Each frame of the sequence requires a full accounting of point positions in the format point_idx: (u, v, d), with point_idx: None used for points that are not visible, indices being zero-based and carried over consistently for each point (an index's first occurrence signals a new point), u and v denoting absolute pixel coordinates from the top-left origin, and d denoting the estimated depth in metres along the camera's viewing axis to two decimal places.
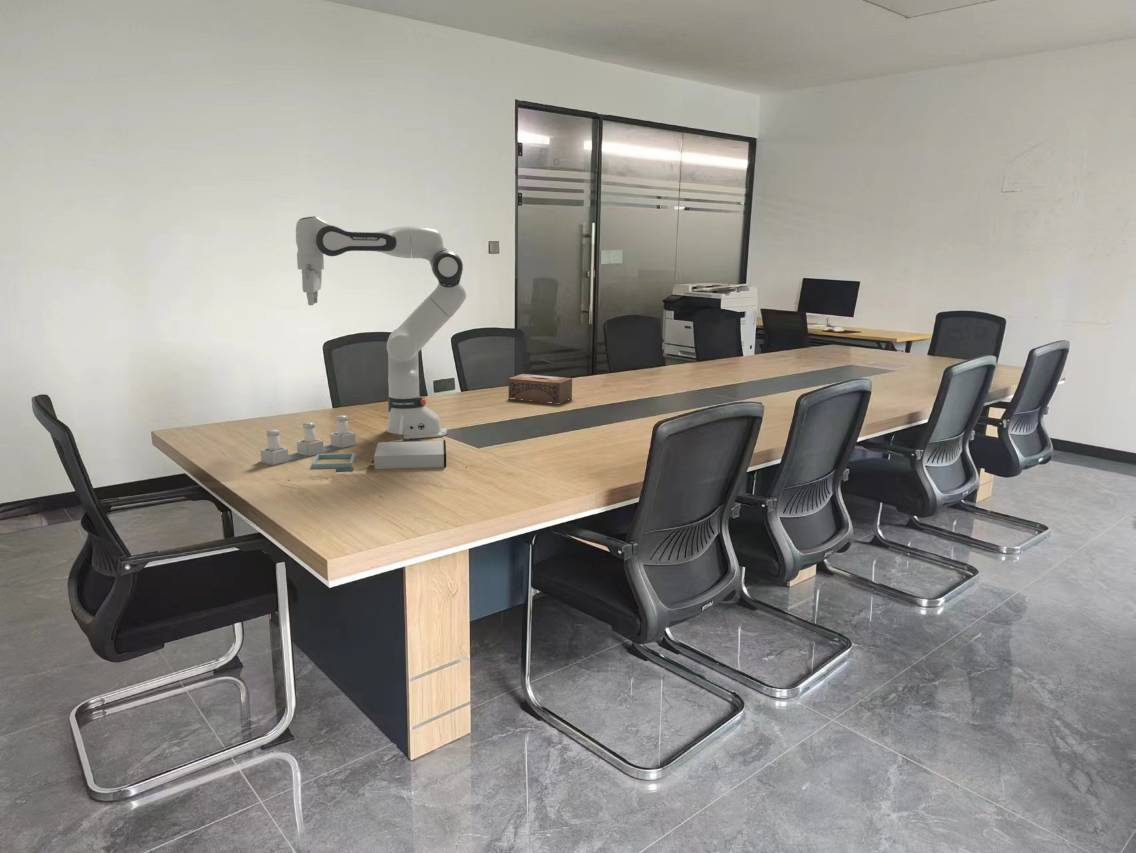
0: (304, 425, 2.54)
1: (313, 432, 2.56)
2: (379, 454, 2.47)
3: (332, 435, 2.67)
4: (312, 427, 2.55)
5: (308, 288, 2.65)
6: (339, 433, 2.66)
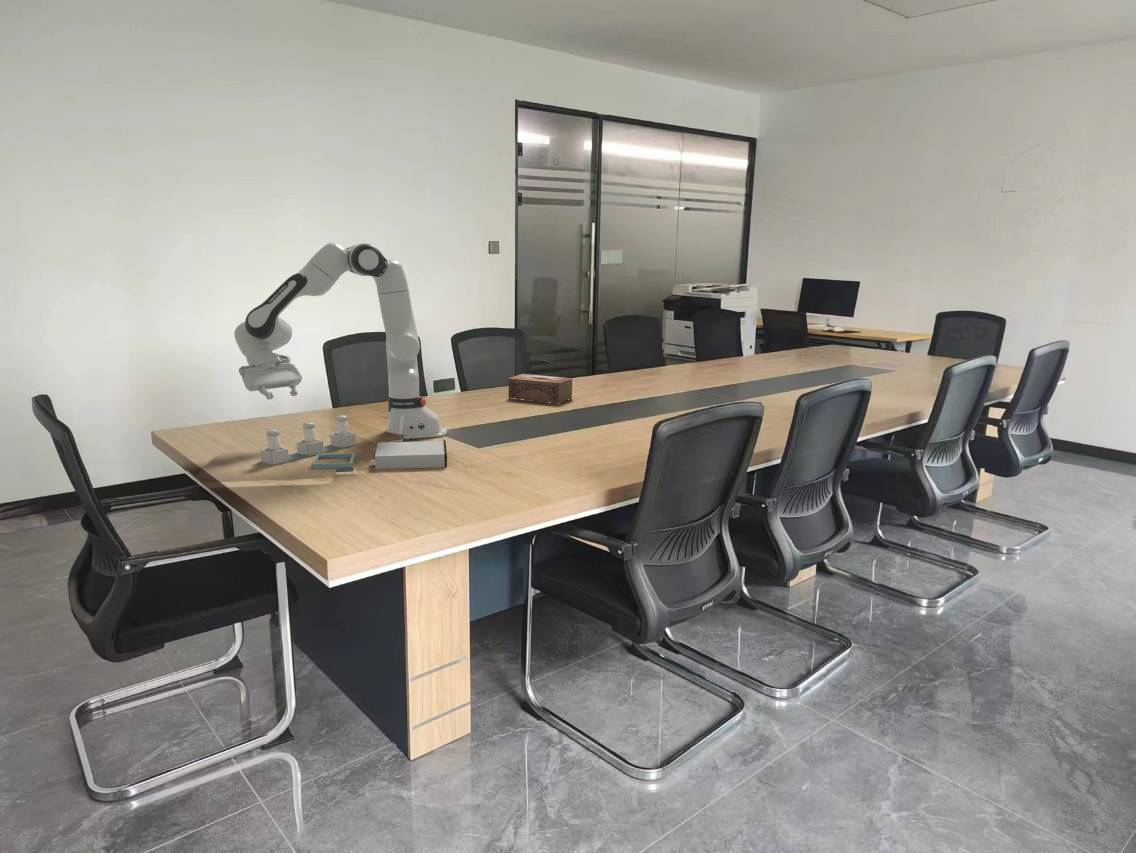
0: (304, 425, 2.54)
1: (313, 432, 2.56)
2: (380, 455, 2.47)
3: (332, 435, 2.67)
4: (312, 427, 2.55)
5: (248, 385, 2.54)
6: (339, 433, 2.66)
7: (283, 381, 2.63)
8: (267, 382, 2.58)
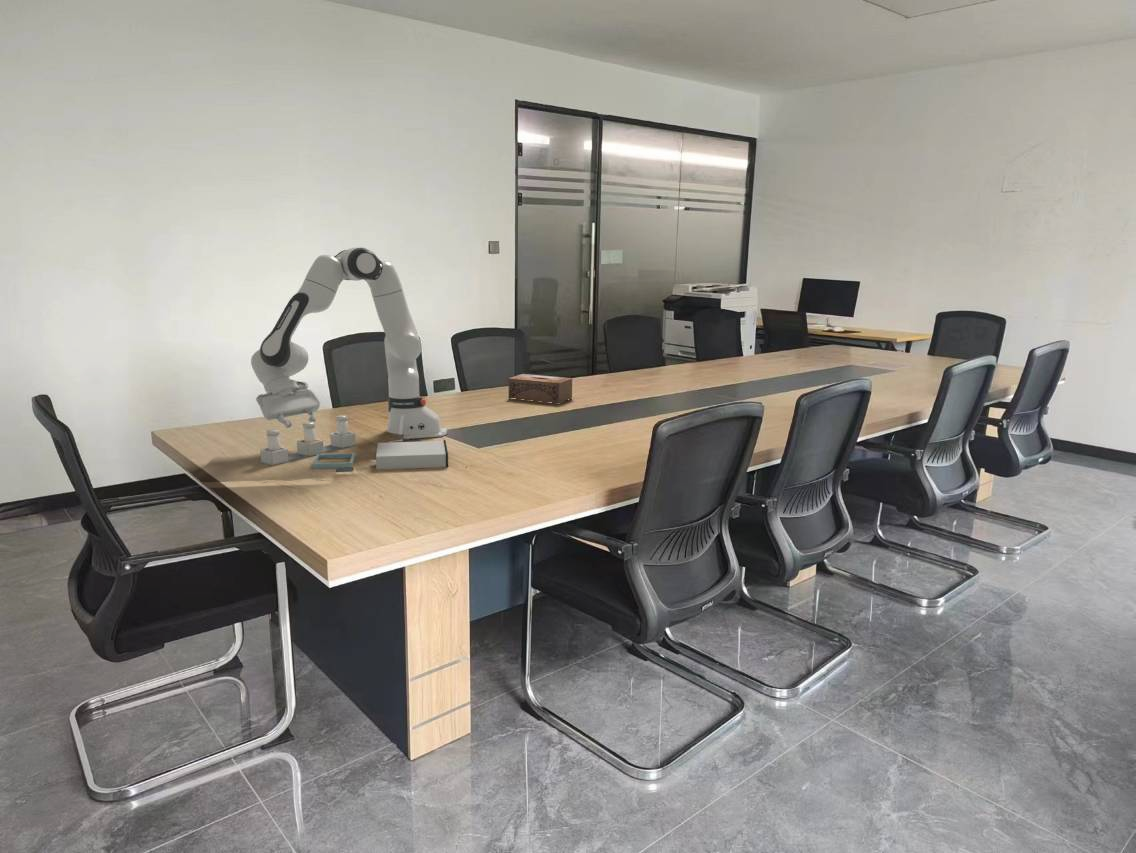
0: (304, 425, 2.54)
1: (313, 432, 2.56)
2: (381, 455, 2.47)
3: (332, 435, 2.67)
4: (312, 427, 2.55)
5: (266, 414, 2.51)
6: (339, 433, 2.66)
7: (301, 408, 2.60)
8: (285, 410, 2.55)
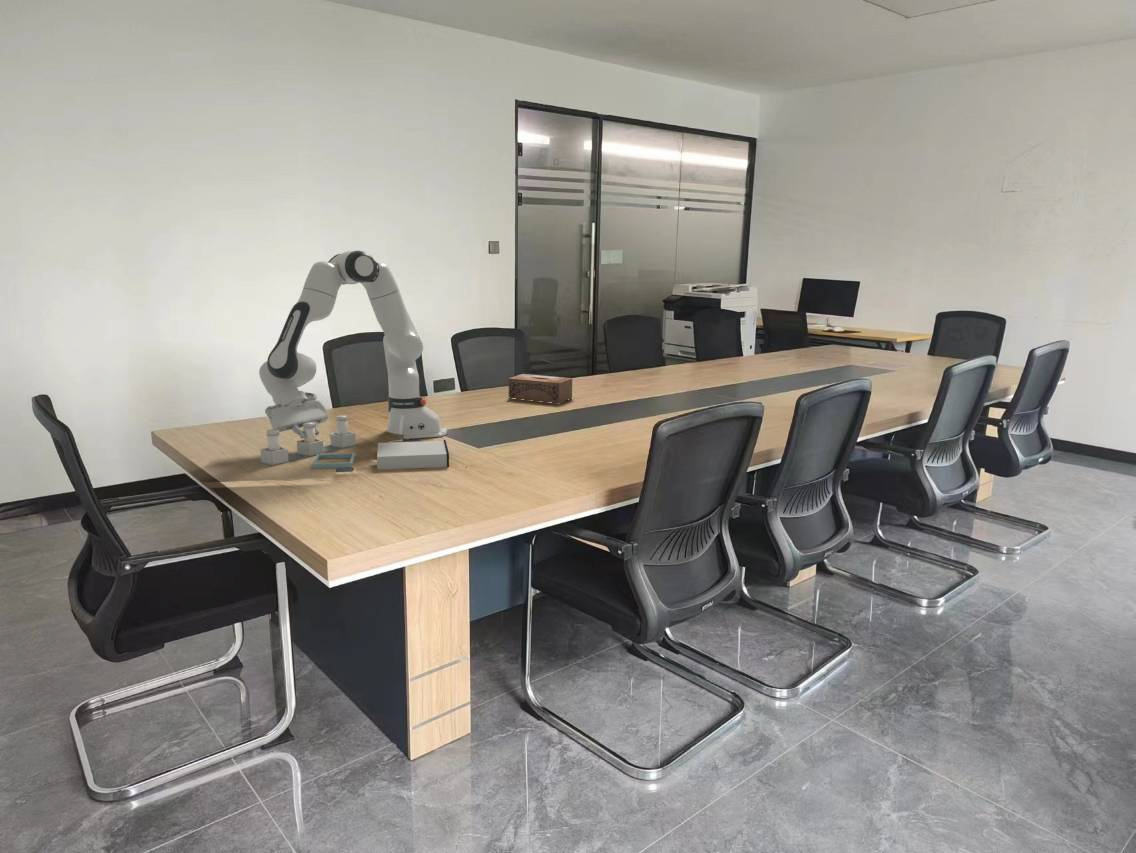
0: (304, 425, 2.54)
1: (313, 432, 2.56)
2: (382, 455, 2.46)
3: (332, 435, 2.67)
4: (312, 427, 2.55)
5: (275, 426, 2.50)
6: (339, 433, 2.66)
7: (310, 419, 2.58)
8: (294, 422, 2.53)
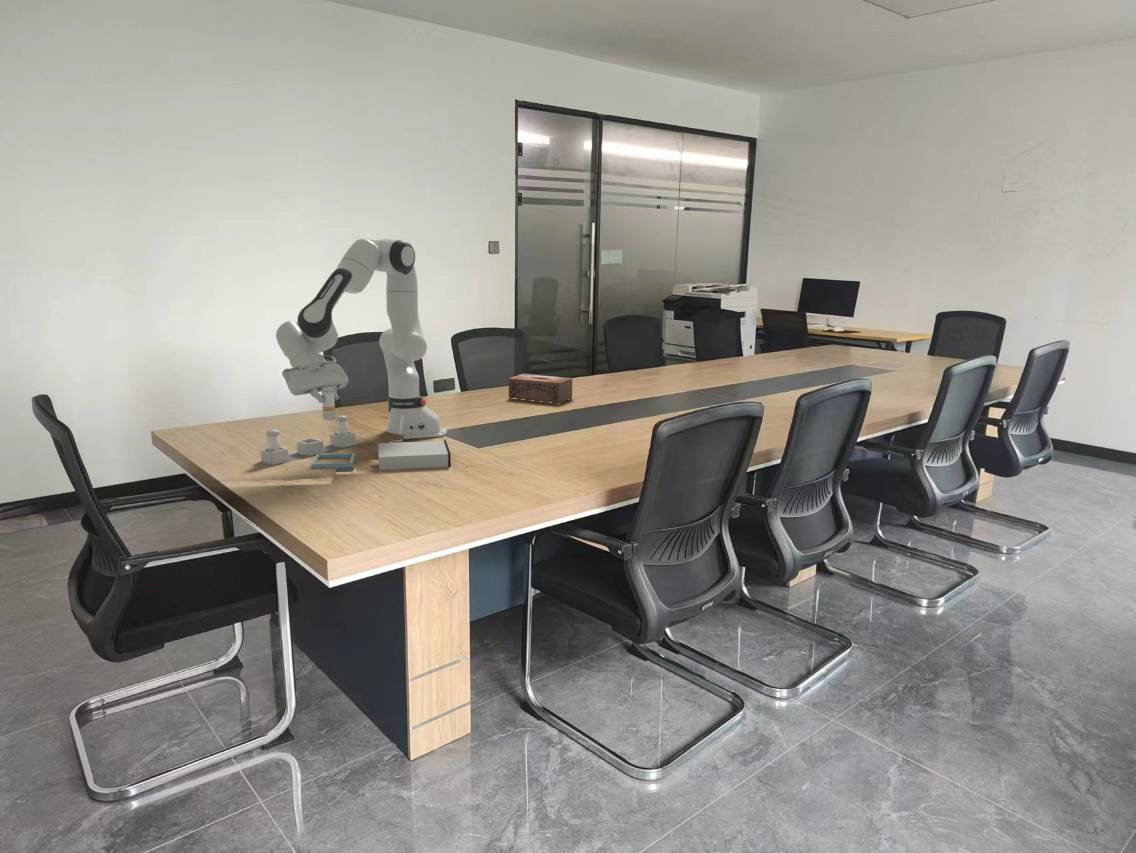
0: (323, 389, 2.41)
1: (332, 396, 2.42)
2: (383, 455, 2.46)
3: (332, 435, 2.67)
4: (331, 391, 2.42)
5: (293, 389, 2.36)
6: (339, 433, 2.66)
7: (329, 384, 2.45)
8: (312, 385, 2.40)
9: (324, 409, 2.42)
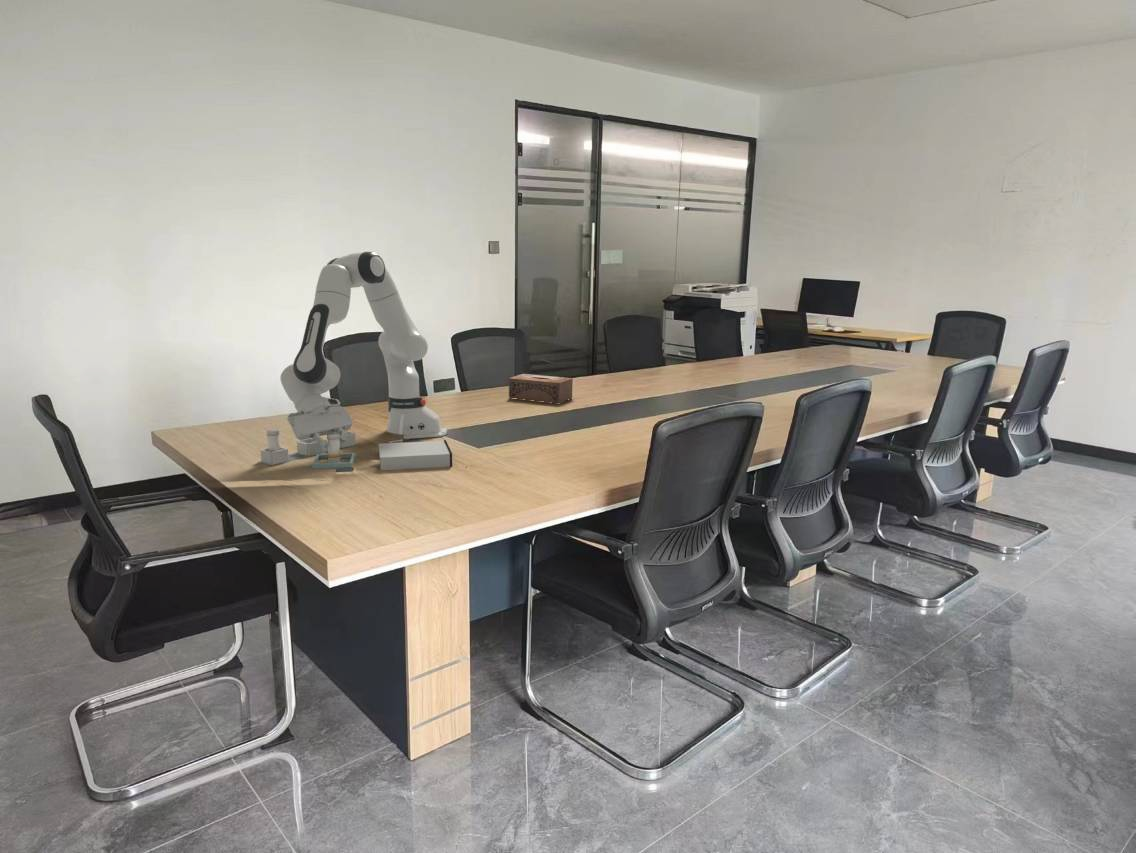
0: (328, 436, 2.44)
1: (337, 444, 2.45)
2: (385, 456, 2.46)
3: None
4: (336, 439, 2.45)
5: (298, 434, 2.39)
6: None
7: (334, 427, 2.47)
8: (318, 429, 2.42)
9: (329, 456, 2.45)
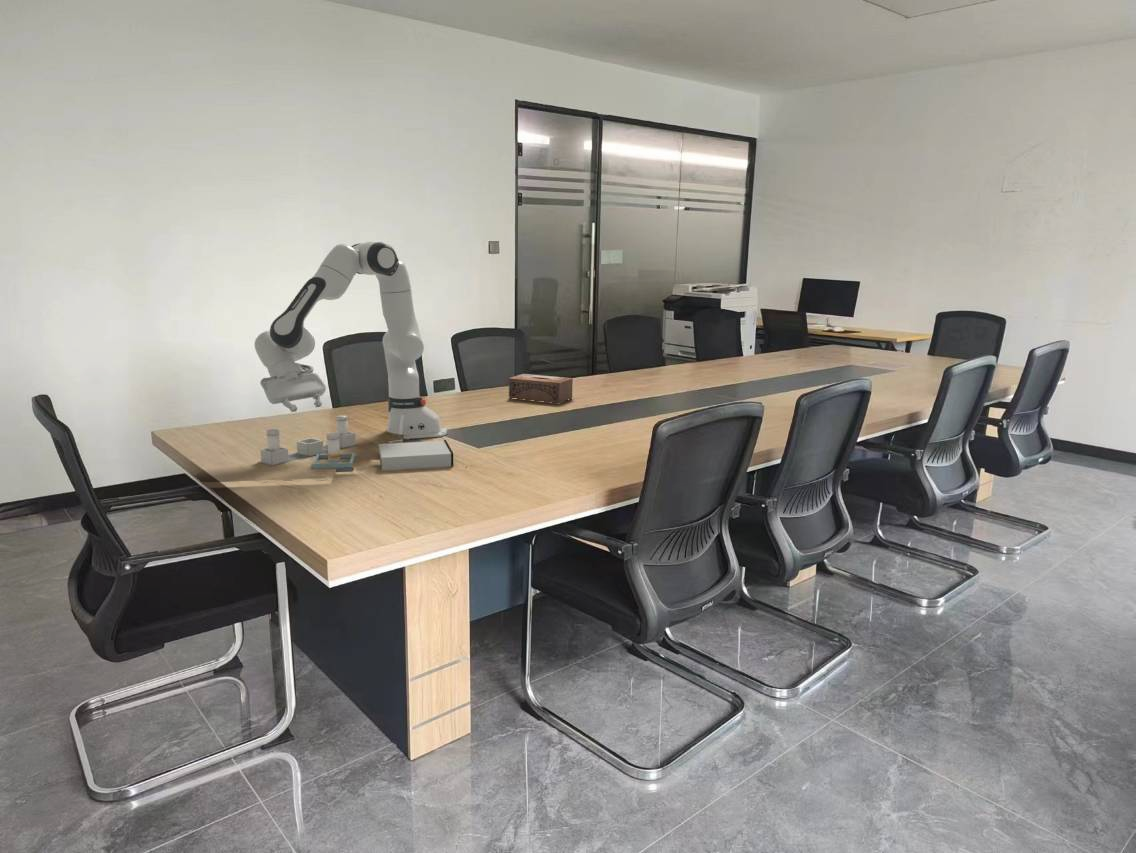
0: (328, 437, 2.44)
1: (337, 444, 2.45)
2: (386, 456, 2.45)
3: None
4: (336, 439, 2.44)
5: (271, 398, 2.43)
6: (339, 433, 2.66)
7: (307, 392, 2.52)
8: (290, 394, 2.47)
9: (329, 456, 2.45)
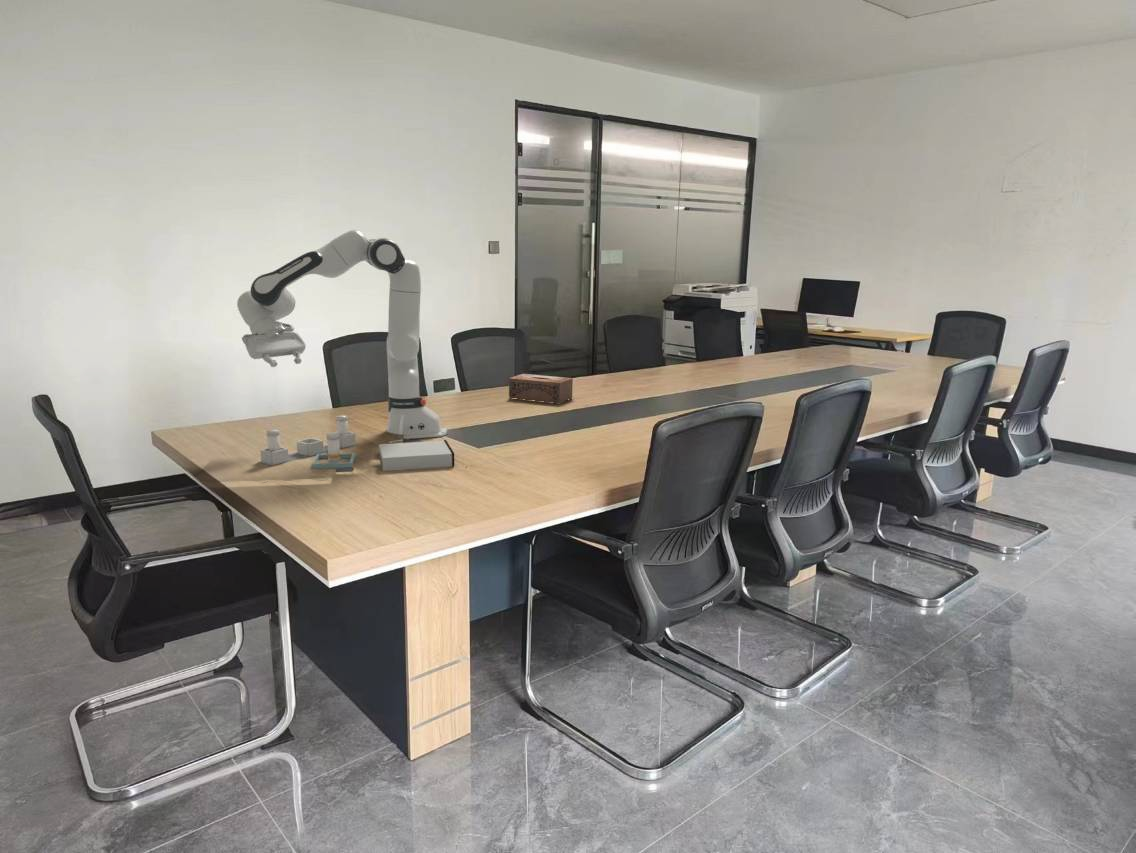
0: (328, 437, 2.44)
1: (337, 444, 2.45)
2: (387, 456, 2.45)
3: None
4: (336, 439, 2.44)
5: (252, 353, 2.55)
6: (339, 433, 2.66)
7: (287, 349, 2.63)
8: (270, 350, 2.58)
9: (329, 456, 2.45)
